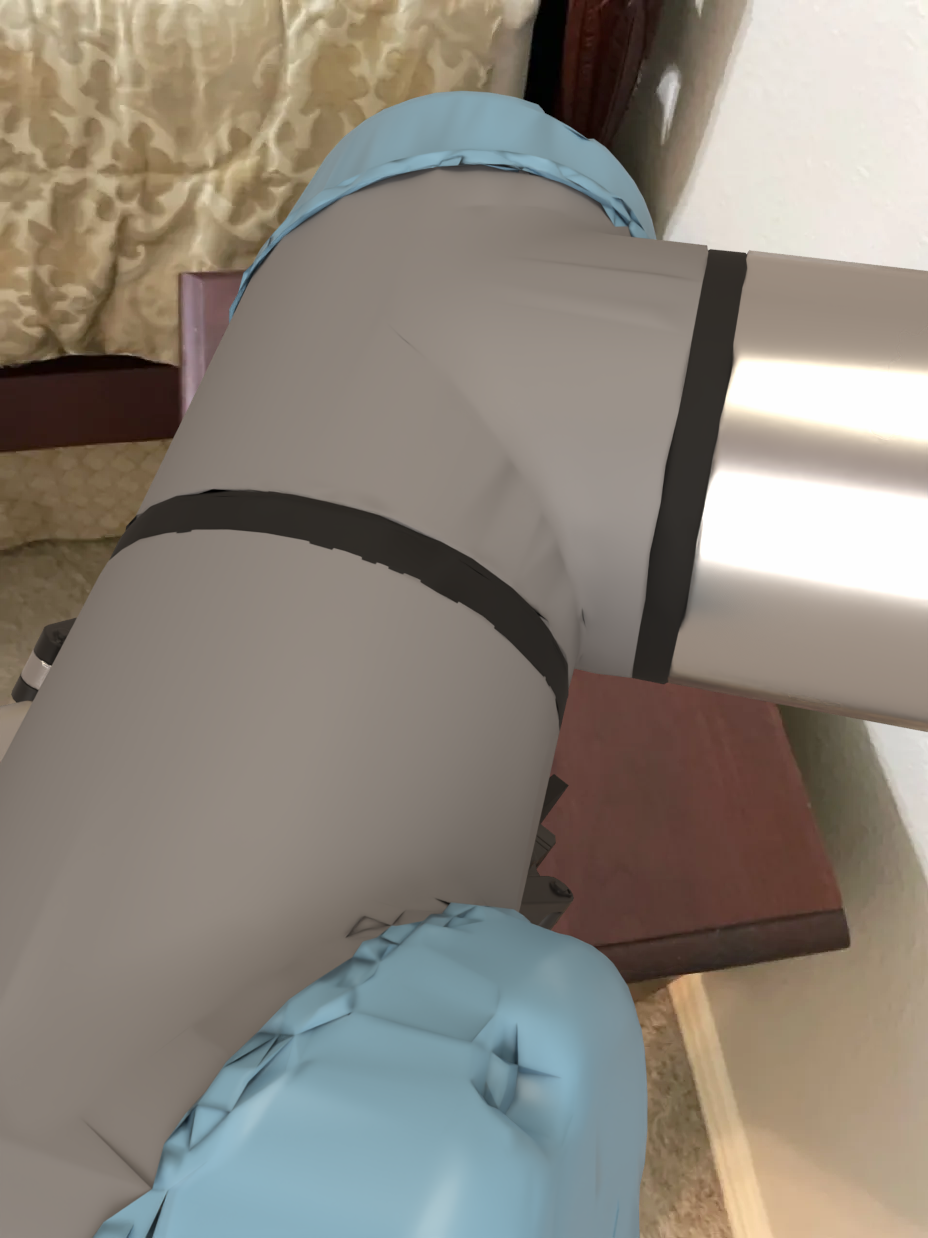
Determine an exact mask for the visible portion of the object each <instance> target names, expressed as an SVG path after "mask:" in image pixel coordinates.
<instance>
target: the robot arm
mask: <svg viewBox="0 0 928 1238" xmlns="http://www.w3.org/2000/svg"><path fill="white" fill-rule="evenodd" d="M655 231H656V230H655V227H654V223H653V218H652V215H651V213H650V211H649V208H648V206H647V202H646V201H645V199H644V196H643V195H642V192H641V191H640V189H639V186H638V185H637V183H636V182H635V180H634V179H633V177H632V176H631V175H630V174H629V172H628V171H627V170H626V168H625V167H624V166H623V164H622V163H621V162H620V161H619V160H618V159H617V158H616V157H615V155H614V154H613V153H612V152H611V151H610V150H609V149H608V148H607V147H606V146H605V145H603V144H602V143H601V142H599V141H598V140H596V139H595V138H587V137H585V135H583V134H582V133H580V132H578V131H577V130H575V129H574V128H573V127H571V126H569V125H568V124H566V123H564V122H563V121H560V120H558V119H557V118H556V117H553V116H552V115H549V114H547V113H545V111H544V110H543V108H542V107H541V106H540V105H539V104H537V103H534V102H531V101H528V100H525V99H522V98H519V97H517V96H511V95H507V94H500V93H495V92H489V91H475V90H474V91H471V90H451V91H440V92H432V93H428V94H425V95H420V96H417V97H413V98H410V99H408V100H405V101H402V102H399V103H396V104H394V105H392V106H389V107H386V108H383V109H382V110H380V111H378V112H377V113H375V114H373V115H371V116H370V117H368V118H366V119H365V120H363V121H362V122H361V123H359V124H358V125H357V126H356V127H354V128H353V129H351V130H350V131H349V132H347V133H346V134H345V135H343V137H342V138H341V139H340V140H339V141H338V142H337V144H335V146H334V147H333V148H332V149H331V150H330V151H329V153H328V154H327V155H326V156H325V157H324V159H323V160H322V162H321V163H320V165H319V166H318V168H317V170H316V172H314V175H313V176H312V178H311V179H310V181H309V183H308V184H307V186H306V187H305V188H304V190H303V191H302V193H301V195H300V196H299V198H298V199H297V201H296V202H295V204H294V205H293V207H292V208H291V211H289V213H288V214H287V217H286V218H285V219H284V221H282V223H281V224H280V225H278V227H277V228H276V230H275V231H274V232H273V233H272V234H271V235H270V236H269V237H268V239H267V240H266V241H265V243H264V244H263V245H262V247H260V249H259V251H258V252H257V254H256V256H255V258H254V260H253V261H252V263H251V265H249V266H248V268H246V269H245V271H243V273H242V277H241V281H240V284H239V288H238V292H237V294H236V296H235V297H234V300H233V301H232V303H231V305H230V306H229V309H228V310H229V311H228V325H227V327H226V329H225V331H224V333H223V335H222V337H221V339H220V341H219V344H218V345H217V348H216V350H215V352H214V354H213V356H212V358H211V360H210V363H209V364H208V366H207V368H206V370H205V372H204V374H203V376H202V379H201V381H200V383H199V384H198V386H197V388H196V391H195V393H194V394H193V396H192V399H191V401H190V403H189V405H188V407H187V409H186V411H185V413H184V415H183V417H182V420H181V422H180V424H179V427H177V430H176V432H175V433H174V436H173V438H172V440H171V443H170V444H169V446H168V448H167V451H166V452H165V455H164V457H163V458H162V461H161V463H160V465H159V467H158V469H157V471H156V473H155V474H154V477H153V479H152V482H151V483H150V485H149V487H148V490H147V492H146V494H145V496H144V498H143V499H142V502H141V504H140V505H139V508H138V510H137V512H136V514H135V516H134V517H133V518H132V519H131V521H129V523H128V524H126V526H125V529H124V530H125V531H123V533H122V535H121V536H120V538H119V539H118V541H117V542H116V546H115V547H114V549H113V551H112V553H111V556H110V558H109V559H108V561H107V562H106V564H105V565H104V567H103V569H102V570H101V572H100V574H99V575H98V577H97V579H96V581H95V583H94V584H93V587H92V589H91V591H90V592H89V594H88V596H87V598H86V600H85V602H84V603H83V605H82V607H81V609H80V611H79V613H78V615H77V616H76V617H72V618H69V619H65V620H62V621H57V622H54V623H50V624H47V625H45V626H44V627H43V629H42V631H41V633H40V635H39V637H38V638H37V641H36V643H35V645H34V647H33V649H32V650H31V652H30V655H29V656H28V659H27V661H26V663H25V664H24V666H23V668H22V671H21V672H20V674H19V676H18V678H17V680H16V682H15V684H14V686H13V688H12V690H11V692H10V693H11V694H10V695H11V698H12V700H13V701H14V702H12V703H7V704H3V705H0V1238H641V1233H640V1232H641V1229H640V1199H641V1197H640V1196H641V1184H642V1178H643V1174H644V1169H645V1166H646V1165H645V1164H646V1153H647V1143H648V1110H649V1109H648V1108H649V1107H648V1095H649V1094H648V1076H647V1075H648V1074H647V1060H646V1049H645V1048H646V1047H645V1041H644V1036H643V1029H642V1025H641V1024H640V1020H639V1015H638V1013H637V1009H636V1005H635V1002H634V999H633V997H632V994H631V990H630V988H629V985H628V984H627V982H626V980H625V979H624V978H623V976H622V975H621V973H620V972H619V970H618V968H617V966H616V965H615V963H614V962H613V961H612V960H611V959H610V958H608V956H607V955H605V953H603V952H602V951H600V950H598V949H597V948H596V947H595V946H594V945H592V944H590V943H587V942H585V941H583V940H581V939H579V938H577V937H574V936H573V935H569V934H563V933H559V932H556V931H553V928H554V927H555V925H556V924H558V922H559V920H560V919H561V917H562V916H563V915H564V914H565V912H566V911H567V910H568V909H569V907H570V906H571V904H572V903H573V901H574V899H575V897H574V894H573V892H572V890H571V889H570V888H569V887H568V886H567V885H566V884H565V883H564V882H563V881H561V880H560V879H559V878H556V877H554V876H551V875H540V873H539V871H538V868H539V866H540V865H541V864H542V863H543V861H544V860H545V859H546V857H547V856H548V854H549V853H550V851H551V850H552V849H553V848H554V846H555V844H557V840H556V839H557V838H556V835H555V834H554V833H553V832H551V831H550V830H549V829H548V828H546V827H545V826H544V825H543V824H542V823H543V822H544V821H545V819H546V818H547V817H548V815H549V813H550V812H551V811H552V809H553V808H554V807H555V805H556V804H557V802H558V801H559V800H560V799H561V797H562V796H563V794H564V793H565V791H566V790H567V789H568V787H569V784H568V783H566V782H565V781H564V780H563V779H561V778H560V777H559V776H557V775H556V774H555V773H553V774H552V775H551V772H552V767H553V763H554V758H555V753H556V750H557V745H558V741H559V736H560V731H561V728H562V723H563V719H564V715H565V712H566V706H567V702H568V699H569V695H570V694H569V690H570V686H571V683H572V679H573V675H574V671H575V670H579V671H584V672H587V673H592V674H597V675H604V676H612V677H622V678H629V679H630V678H631V679H635V680H639V681H644V682H651V683H656V684H660V685H666V684H671V685H677V686H680V687H681V686H682V687H688V688H692V689H698V690H703V691H708V692H714V693H720V694H724V695H728V696H735V697H739V698H744V699H750V700H755V701H761V702H765V703H766V702H767V703H772V704H777V705H782V706H788V707H792V708H797V709H804V710H810V711H813V712H819V713H825V714H830V715H834V716H839V717H844V718H845V717H846V718H851V719H856V720H860V721H866V722H870V723H871V722H872V723H877V724H882V725H888V726H893V727H898V728H903V729H908V730H914V731H919V732H924V733H928V270H924V269H914V268H906V267H896V266H888V265H879V264H871V263H862V262H854V261H846V260H845V261H844V260H837V259H827V258H820V257H811V256H803V255H802V256H801V255H793V254H784V253H777V252H767V251H758V250H750V249H749V250H748V251H747V252H742V251H734V250H723V249H714V248H710V249H709V247H708V245H707V244H699V243H690V242H683V241H682V242H681V241H674V240H673V241H672V240H665V239H657V235H656V232H655Z"/></svg>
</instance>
